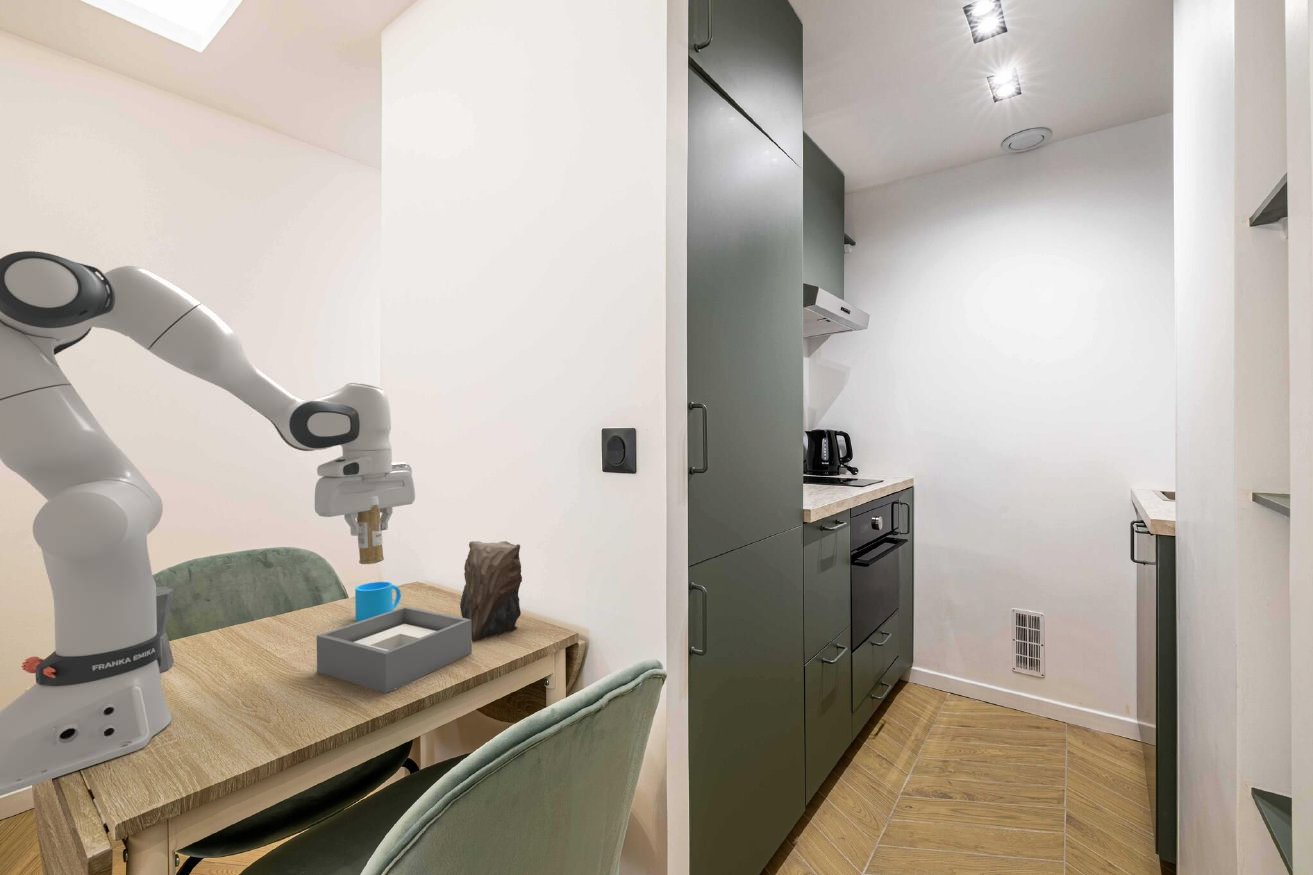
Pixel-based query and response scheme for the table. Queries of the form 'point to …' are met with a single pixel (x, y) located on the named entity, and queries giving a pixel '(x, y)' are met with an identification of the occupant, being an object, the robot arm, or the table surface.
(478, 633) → the owl
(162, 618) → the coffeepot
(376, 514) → the sprinkles bottle
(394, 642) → the box
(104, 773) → the table surface
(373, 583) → the mug
